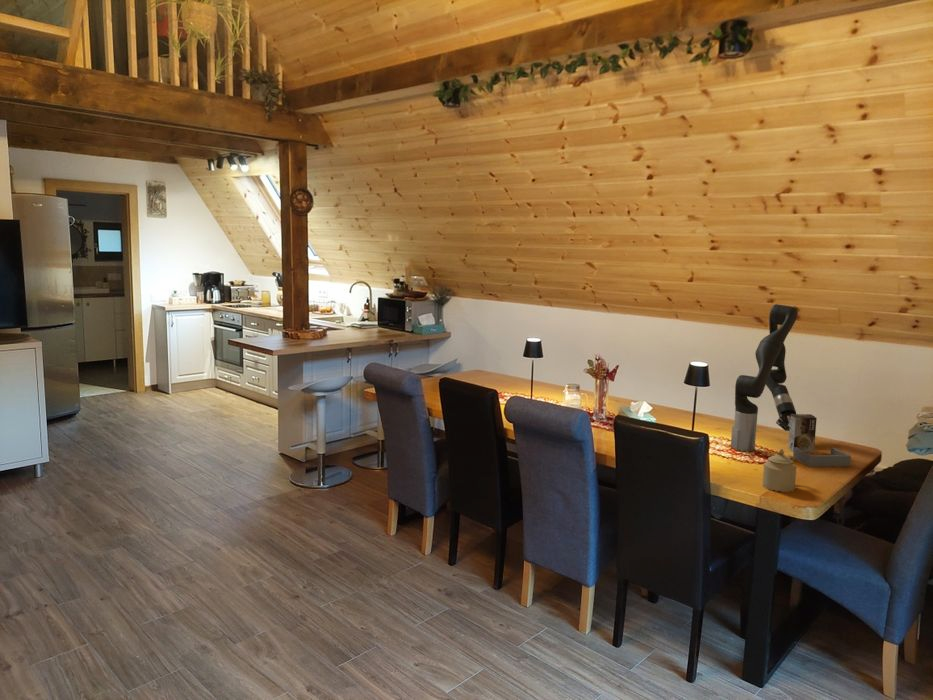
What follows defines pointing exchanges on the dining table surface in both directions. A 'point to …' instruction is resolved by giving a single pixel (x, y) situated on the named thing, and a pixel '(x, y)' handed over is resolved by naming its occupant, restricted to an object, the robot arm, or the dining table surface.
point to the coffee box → (802, 432)
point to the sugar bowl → (779, 473)
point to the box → (823, 458)
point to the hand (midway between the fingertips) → (796, 438)
